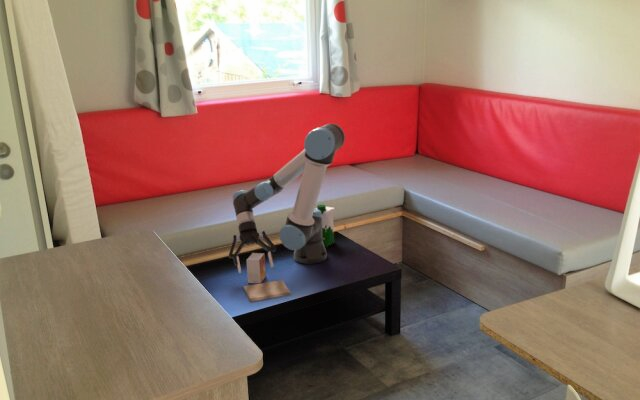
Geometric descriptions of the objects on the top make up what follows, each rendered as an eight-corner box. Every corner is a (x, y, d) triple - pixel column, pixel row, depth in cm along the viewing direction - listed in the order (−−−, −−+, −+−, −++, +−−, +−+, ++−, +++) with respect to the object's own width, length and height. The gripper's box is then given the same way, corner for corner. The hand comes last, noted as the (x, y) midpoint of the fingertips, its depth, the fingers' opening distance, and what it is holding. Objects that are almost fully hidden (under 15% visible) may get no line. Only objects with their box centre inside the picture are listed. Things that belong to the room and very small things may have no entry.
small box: (260, 284, 226) (259, 260, 223) (247, 283, 227) (246, 259, 224) (266, 276, 234) (264, 253, 231) (253, 275, 235) (252, 252, 232)
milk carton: (312, 245, 267) (310, 205, 261) (322, 239, 274) (321, 201, 268) (327, 248, 262) (326, 208, 256) (337, 242, 269) (336, 203, 264)
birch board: (282, 282, 227) (282, 279, 226) (290, 294, 216) (290, 291, 215) (244, 289, 222) (243, 286, 222) (250, 301, 211) (250, 298, 211)
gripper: (273, 224, 244) (284, 268, 234) (217, 232, 237) (225, 277, 227) (275, 216, 238) (286, 261, 228) (218, 224, 230) (226, 270, 221)
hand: (256, 269), depth 228 cm, fingers open, 13 cm apart
